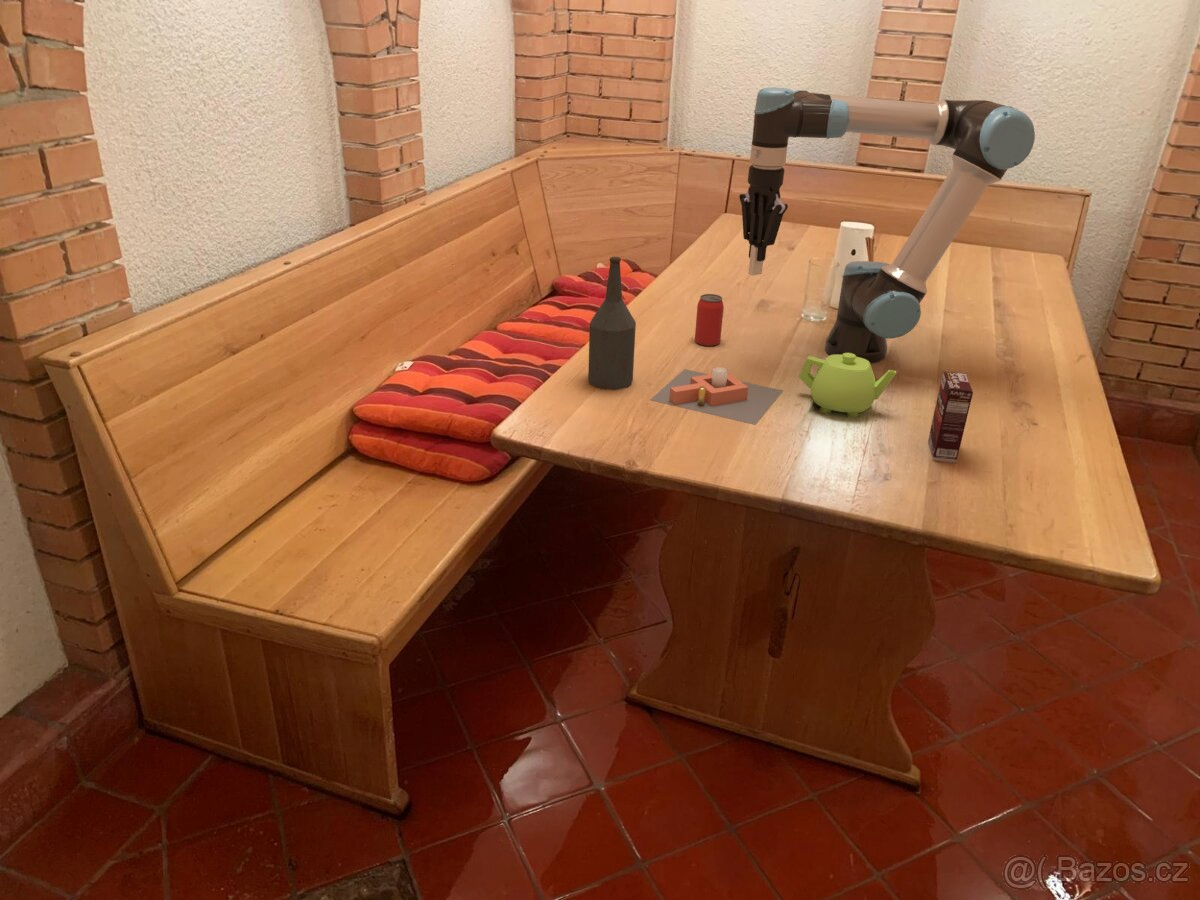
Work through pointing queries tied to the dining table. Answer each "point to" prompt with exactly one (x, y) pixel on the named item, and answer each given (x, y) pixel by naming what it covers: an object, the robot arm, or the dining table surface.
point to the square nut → (710, 391)
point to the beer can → (709, 320)
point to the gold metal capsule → (701, 396)
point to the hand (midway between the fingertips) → (754, 273)
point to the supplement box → (950, 417)
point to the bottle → (612, 338)
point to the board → (739, 411)
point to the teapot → (844, 383)
